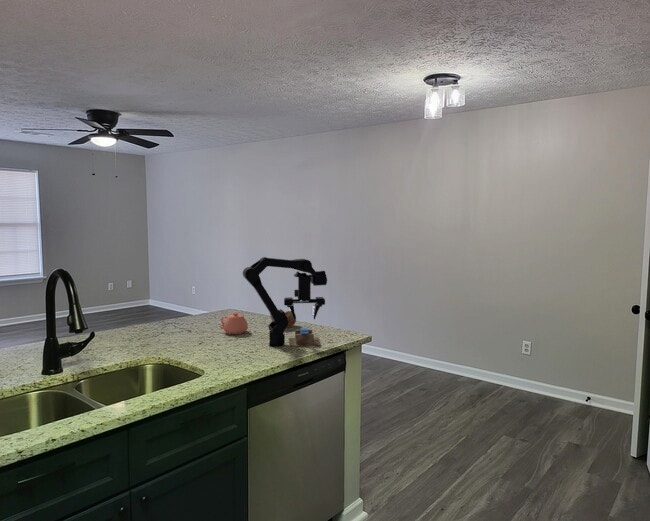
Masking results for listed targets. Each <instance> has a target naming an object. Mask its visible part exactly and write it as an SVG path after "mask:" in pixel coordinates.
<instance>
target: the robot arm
mask: <svg viewBox="0 0 650 521" xmlns="http://www.w3.org/2000/svg"><path fill="white" fill-rule="evenodd" d="M267 267H273V268H284V269H292V270H296V272H295V273H294V274H293V276H294V277H295V278H297V279H298V281H297V282H298V283H297V284H298V286H297V287H298V288H297V289H294V297H295V299H294V298H293V297H285V298H283V304H284V306H286V308H289V309H290V311H291V312H292V314H293V318H294V320H295V315H296V313H295V307H294V304H314V311H313V320H316V317H317V315H318V312H319V310H320V308H321V307H322V308H323V306H325V305H326V299H325V297H323V296H316V297H315V298H312V297H311V295H312V294H311V289H312V288H311V284H312V285H313V286H315V287H316V286H318V287H319V286H326V285H327V284H328V278H327V277H328V276H327V274H326V271H325V270H320V271H316V270H315V269H314V267H313V264H312V262H311V260H308V259H306V258H295V259H283V258H275V257H274V258H273V257H272V258H271V257H267V256H263V257H261V258H260V259H259V260H257V261H256V262H255V263H253V264H251V265H250V266H247V267H245V268H244V269H243V271H242V276H243V278H244V279H245V280H246V281H247V282H248V283H249V284H250V286H252V287H253V288H254V290H255V292H256V293H257V295H258V296H259V298H260V300H261V301H262V303H263V304H264V306H265V308H266V309H267V310H268V312H269V315H270V318H271V322H270V323H269V324H268V325H267V328H268V330H269V335H268V336H269V343H268V344H269V345H268V347H269V348H270V347H284V346H285V344H286V343H285V342H286V341H285V338H286V337H285V336H286V334H285V333H284V332H285V330H286V329H287V328H286V327H287V326H288V323H289V322H288V320H287V319H288V317H286V315H285V313H284V312H285V311H284V310H283V309H281V308H280V309H278V307H277V305H276V304H275V303H274V301H273V299H272V298H271V296H270V295H269V293H268V292H267V290H266V289H265V287H264V285H263V282H262V280H261V279H262V278H261V277H260V274H261V273H263V271H265V269H266V268H267ZM307 273H308V274H307Z"/></svg>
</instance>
